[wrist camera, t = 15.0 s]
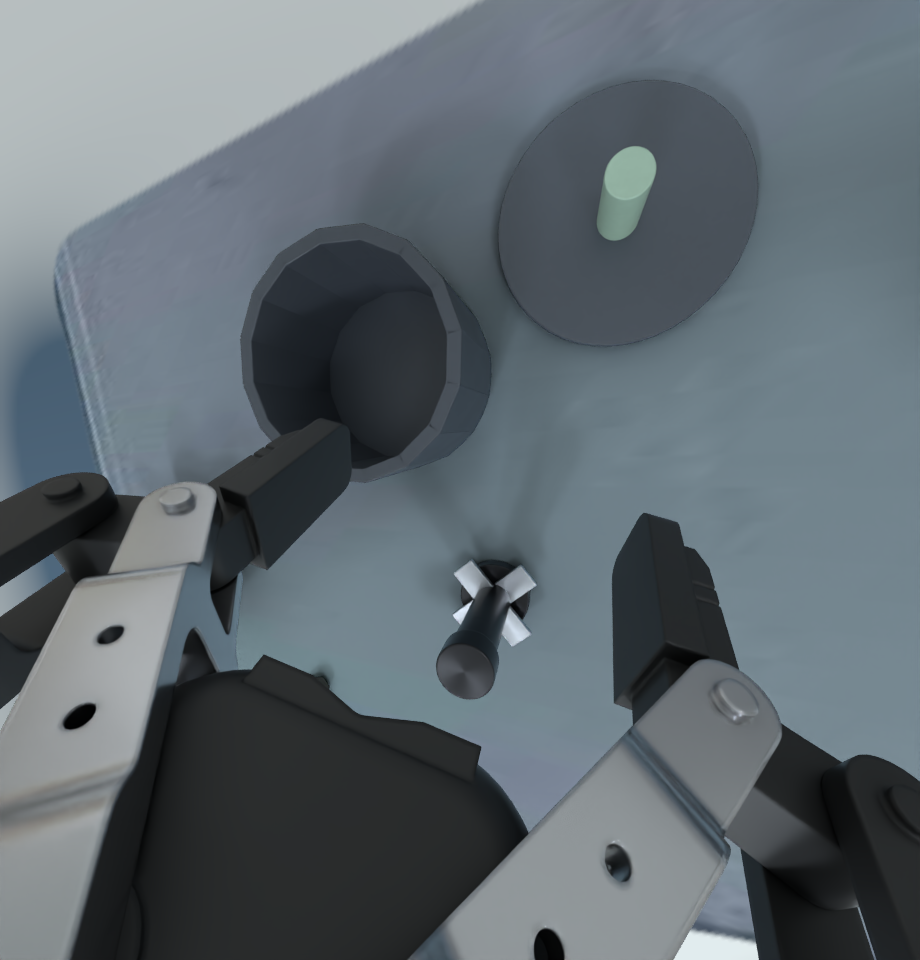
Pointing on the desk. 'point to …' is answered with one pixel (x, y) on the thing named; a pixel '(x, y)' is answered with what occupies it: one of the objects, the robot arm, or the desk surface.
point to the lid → (628, 213)
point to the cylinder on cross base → (484, 625)
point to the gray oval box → (365, 350)
